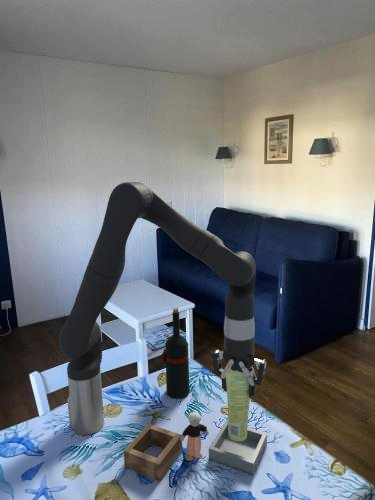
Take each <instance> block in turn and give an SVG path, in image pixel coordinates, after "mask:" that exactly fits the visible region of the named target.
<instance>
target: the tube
mask: <svg viewBox="0 0 375 500" xmlns="http://www.w3.org/2000/svg"><path fill="white" fill-rule="evenodd" d="M248 370H249V369H248ZM225 376H226V386H227V392H226V397H227V398H226V399H227V422H228V435H229V437H230V439H232V440H234V441H244V440H245V439H246V438H247V428H249V427H248V424H249V415H250V413H249V412H250V404H251V403H250V401H251V398H249V384H250V383H249V381H248V379H247V378H246V377H245V375H244V373H242V372H239V371H233V370H232V369H230V370H229V372H228V373H226V372H225Z"/></svg>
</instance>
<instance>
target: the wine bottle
mask: <svg viewBox="0 0 375 500" xmlns="http://www.w3.org/2000/svg"><path fill="white" fill-rule="evenodd" d="M172 311H173V312H172V335H170V336H169V337H168V338H167V340H166V341H165V344H164V346H165V347H164V348H163V350H162V353H161V360H162V362H163V363H162V368H164V365H165V381H166V382H165V386H166V387H165V388H166V395H167V397H168V398H170V399H175V400H179V399H180V400H181V399H184V398H186V397H188V396H189V395H190V391H191V390H190V367H189V365H190V362H189V360H190V359H189V343H188V340H187V339H186V337H184V336H183V335H181V333H180V312H179V308H178V307H174V308H172ZM163 374H164V371H162V374H161V376H160V378H159V380H162V377H163V376H164V375H163Z"/></svg>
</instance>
